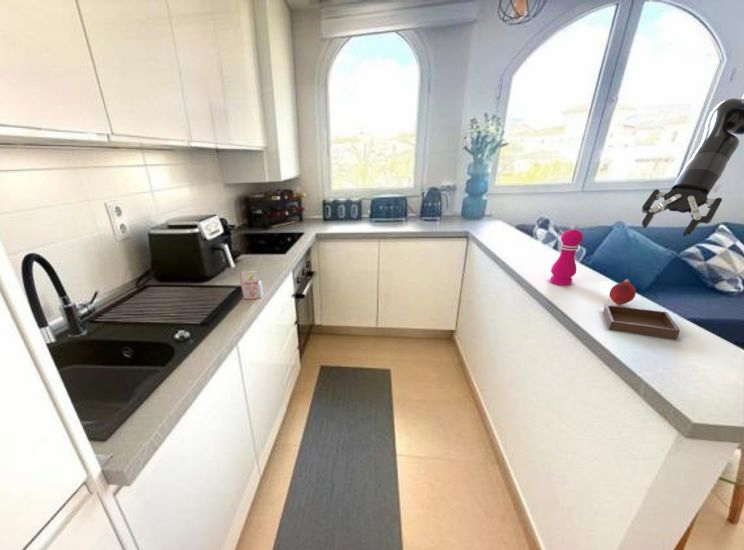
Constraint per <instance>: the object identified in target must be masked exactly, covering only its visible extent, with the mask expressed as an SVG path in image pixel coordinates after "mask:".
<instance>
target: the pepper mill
mask: <svg viewBox="0 0 744 550" xmlns="http://www.w3.org/2000/svg"><path fill="white" fill-rule="evenodd" d="M583 239H584V234H583V232H582V231H580V230H579V228H578V225H577V224H573V225H571V226H570V229H567V230H565V231H563V233H562V234H561V236H560V241H561V244H560V253H559V257H558V258H557V259H556V260H555V262H554V263H553V264H552V266H551V268H550V273H551V274H552V275H551V276H550V279H549V282H550V283H551V284H554V285H557V286H570V285H571V284H572V282H573V277H574V276H575V275H576V274H577V264H576V260H575V256H576V252H577V251H578V250H579V247H580V245H579V244H580V243H582V242H583Z"/></svg>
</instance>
